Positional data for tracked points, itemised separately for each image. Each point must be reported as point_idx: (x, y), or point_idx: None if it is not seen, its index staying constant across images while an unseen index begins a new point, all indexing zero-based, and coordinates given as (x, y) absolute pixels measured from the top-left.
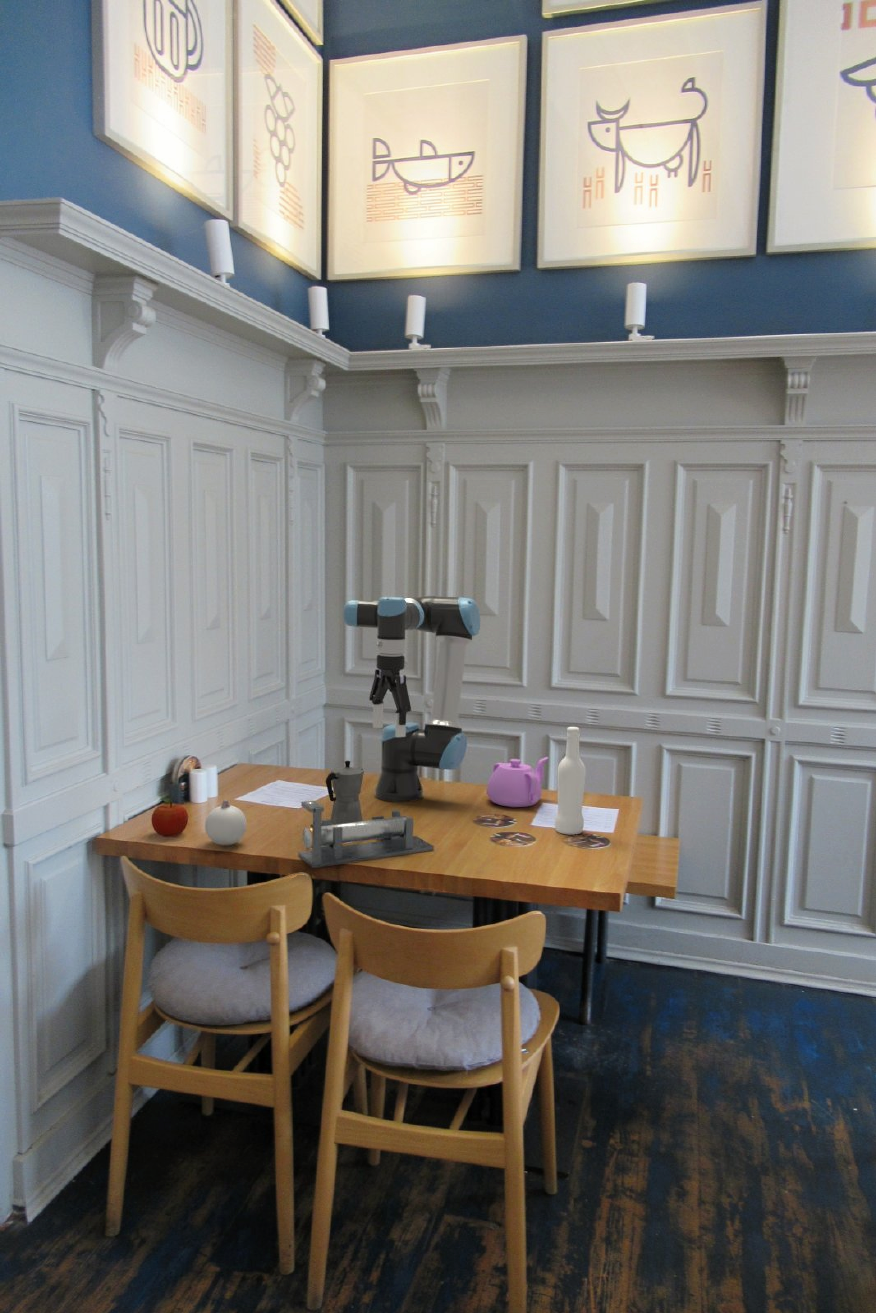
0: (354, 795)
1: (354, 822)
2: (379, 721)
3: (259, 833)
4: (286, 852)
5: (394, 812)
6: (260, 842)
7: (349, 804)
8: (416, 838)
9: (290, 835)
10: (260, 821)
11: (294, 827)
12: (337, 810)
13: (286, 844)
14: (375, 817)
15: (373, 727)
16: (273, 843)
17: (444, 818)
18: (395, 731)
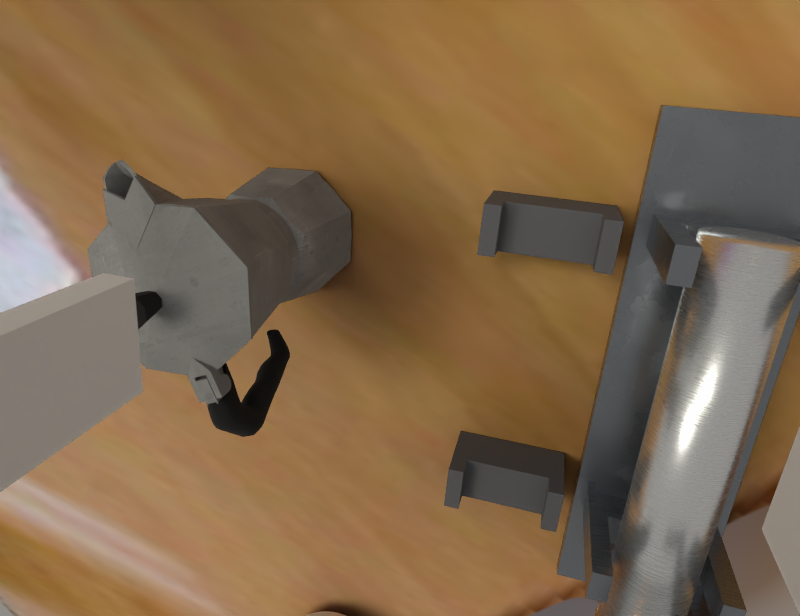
0: (289, 256)
1: (683, 508)
2: (78, 358)
3: (291, 521)
4: (501, 566)
5: (692, 284)
6: (373, 564)
7: (306, 270)
8: (698, 127)
9: (351, 467)
10: (180, 456)
11: (278, 411)
12: (291, 299)
13: (429, 524)
14: (493, 247)
15: (126, 391)
16: (400, 545)
17: None
18: (795, 591)
